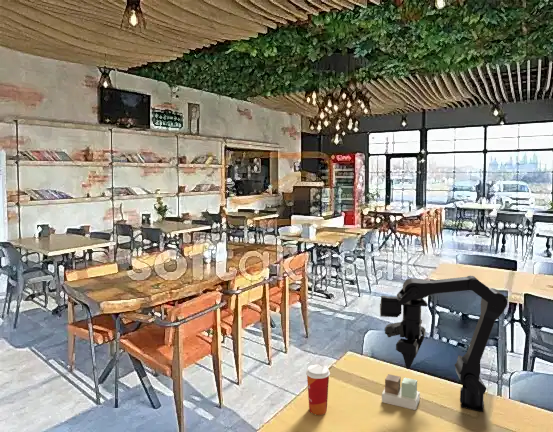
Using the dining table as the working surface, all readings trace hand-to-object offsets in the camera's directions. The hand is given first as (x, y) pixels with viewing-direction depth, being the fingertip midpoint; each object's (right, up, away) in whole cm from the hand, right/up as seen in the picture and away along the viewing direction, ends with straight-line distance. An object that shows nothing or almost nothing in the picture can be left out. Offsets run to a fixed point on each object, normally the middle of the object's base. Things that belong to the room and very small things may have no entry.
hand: (410, 363), depth 144 cm
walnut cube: (-6, -10, +2) cm, 12 cm away
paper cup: (-32, -14, -4) cm, 35 cm away
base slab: (-3, -13, +1) cm, 13 cm away
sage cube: (-1, -10, -1) cm, 10 cm away
